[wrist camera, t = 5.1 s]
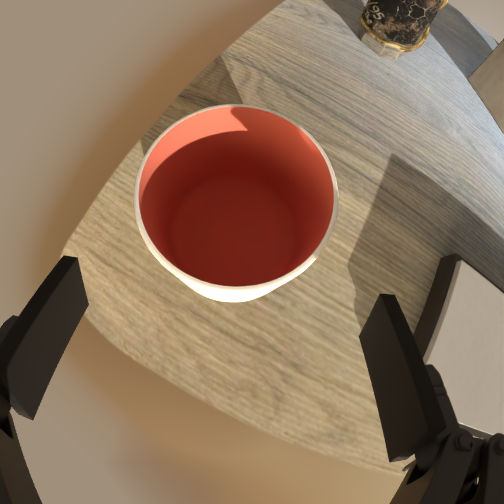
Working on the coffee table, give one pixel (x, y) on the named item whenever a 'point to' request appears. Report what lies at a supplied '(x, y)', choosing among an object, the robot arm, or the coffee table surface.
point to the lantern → (397, 25)
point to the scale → (466, 343)
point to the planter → (491, 83)
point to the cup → (235, 200)
